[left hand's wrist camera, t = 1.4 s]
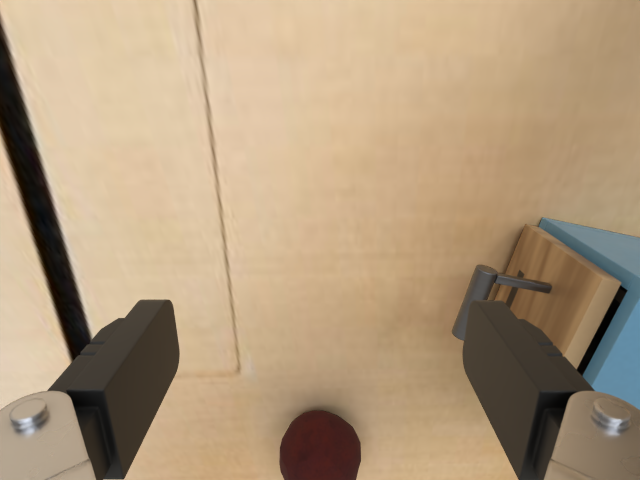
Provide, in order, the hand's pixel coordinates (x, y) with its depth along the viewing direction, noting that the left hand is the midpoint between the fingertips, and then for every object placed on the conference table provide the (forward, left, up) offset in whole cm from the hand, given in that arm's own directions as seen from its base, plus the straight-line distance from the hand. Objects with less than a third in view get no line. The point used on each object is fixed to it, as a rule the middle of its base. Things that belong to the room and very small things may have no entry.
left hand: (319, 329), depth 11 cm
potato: (+9, +23, -22) cm, 34 cm away
